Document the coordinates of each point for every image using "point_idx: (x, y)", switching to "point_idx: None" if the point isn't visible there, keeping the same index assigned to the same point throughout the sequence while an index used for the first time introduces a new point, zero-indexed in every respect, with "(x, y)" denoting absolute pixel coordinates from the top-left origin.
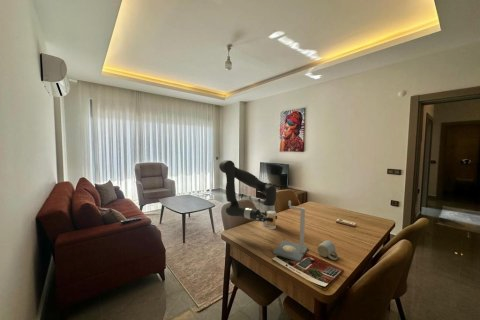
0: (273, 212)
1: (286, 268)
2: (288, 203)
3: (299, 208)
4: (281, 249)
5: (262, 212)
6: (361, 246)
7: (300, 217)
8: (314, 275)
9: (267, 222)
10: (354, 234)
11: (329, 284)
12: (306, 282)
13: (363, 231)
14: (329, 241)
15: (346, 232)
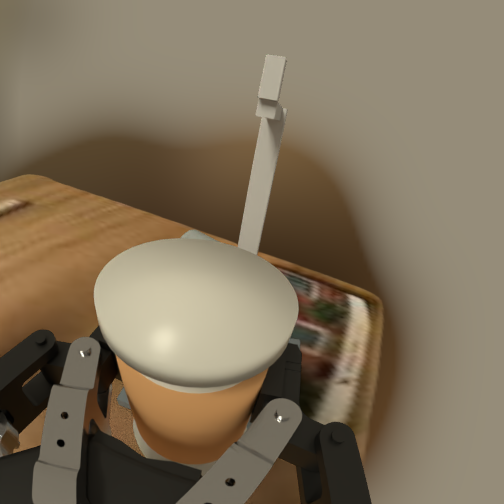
0: (208, 261)
1: (364, 377)
2: (281, 78)
3: (281, 111)
4: None
5: (47, 500)
6: (131, 216)
7: (274, 167)
8: (340, 313)
9: (232, 442)
10: (66, 211)
11: (349, 292)
12: (381, 328)
13: (56, 199)
14: (194, 231)
15: (52, 218)
